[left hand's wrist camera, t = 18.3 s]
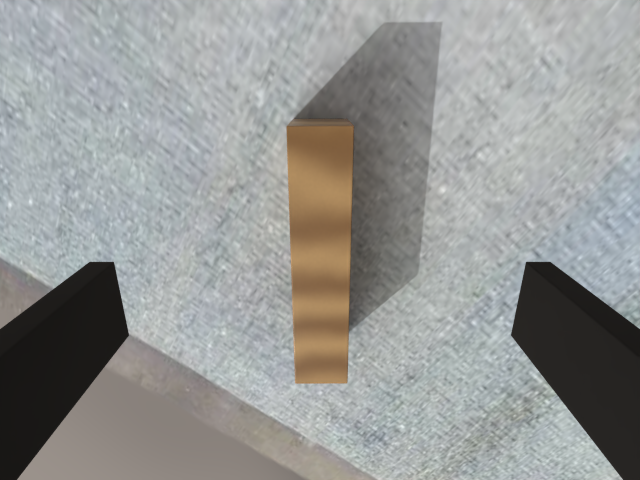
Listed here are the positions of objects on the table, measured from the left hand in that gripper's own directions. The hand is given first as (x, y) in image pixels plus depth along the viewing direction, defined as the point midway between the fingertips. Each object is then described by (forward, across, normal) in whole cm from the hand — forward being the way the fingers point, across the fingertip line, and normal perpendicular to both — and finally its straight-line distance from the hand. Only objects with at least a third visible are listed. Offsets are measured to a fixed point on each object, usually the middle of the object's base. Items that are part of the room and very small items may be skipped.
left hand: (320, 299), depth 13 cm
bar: (+28, 0, -9) cm, 30 cm away
